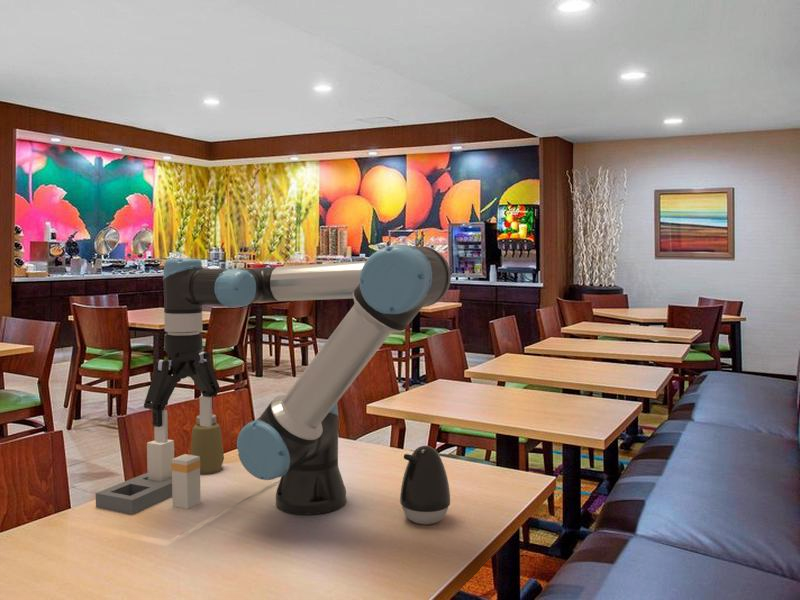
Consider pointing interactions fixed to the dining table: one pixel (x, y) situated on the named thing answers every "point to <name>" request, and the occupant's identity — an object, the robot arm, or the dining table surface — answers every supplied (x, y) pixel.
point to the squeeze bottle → (207, 446)
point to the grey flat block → (134, 495)
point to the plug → (185, 481)
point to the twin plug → (160, 460)
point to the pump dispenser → (425, 487)
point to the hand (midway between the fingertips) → (184, 433)
